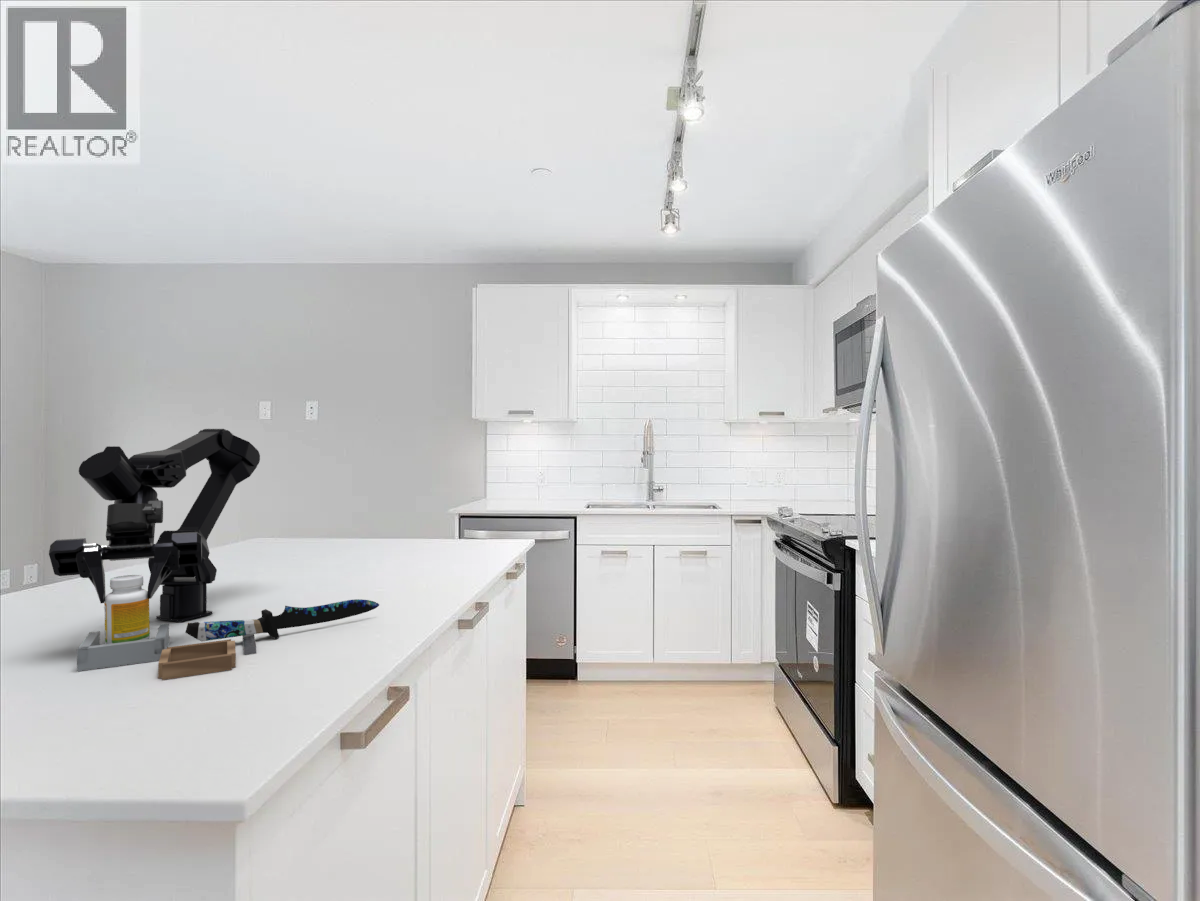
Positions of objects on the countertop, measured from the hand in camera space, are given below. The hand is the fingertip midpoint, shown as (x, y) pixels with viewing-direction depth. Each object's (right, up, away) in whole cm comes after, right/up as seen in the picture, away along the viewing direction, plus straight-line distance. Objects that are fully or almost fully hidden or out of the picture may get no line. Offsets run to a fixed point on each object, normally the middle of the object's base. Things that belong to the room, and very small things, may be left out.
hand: (125, 599), depth 95 cm
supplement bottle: (-1, -7, +1) cm, 7 cm away
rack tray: (-1, -9, +1) cm, 9 cm away
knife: (+19, -9, +13) cm, 24 cm away
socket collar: (+13, -9, -3) cm, 16 cm away
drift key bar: (+15, -9, +6) cm, 18 cm away
